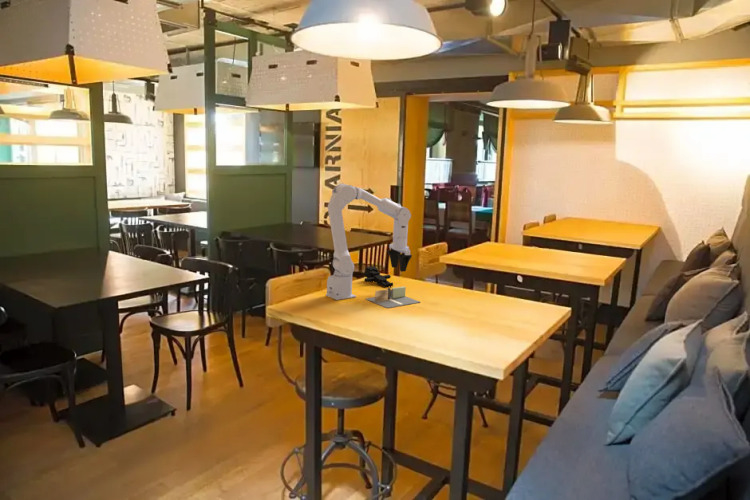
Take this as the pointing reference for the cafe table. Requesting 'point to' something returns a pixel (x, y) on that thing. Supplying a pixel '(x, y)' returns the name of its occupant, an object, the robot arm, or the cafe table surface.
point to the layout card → (394, 301)
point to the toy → (376, 277)
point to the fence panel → (397, 292)
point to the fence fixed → (382, 294)
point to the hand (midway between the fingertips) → (398, 269)
